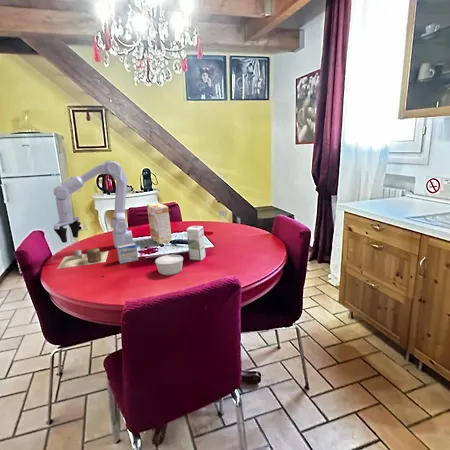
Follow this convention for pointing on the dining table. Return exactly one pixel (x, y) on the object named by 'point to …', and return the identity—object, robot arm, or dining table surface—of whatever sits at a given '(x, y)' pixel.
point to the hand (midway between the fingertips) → (70, 239)
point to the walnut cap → (93, 255)
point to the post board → (80, 259)
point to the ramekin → (169, 264)
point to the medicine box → (127, 253)
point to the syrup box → (196, 242)
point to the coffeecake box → (159, 223)
